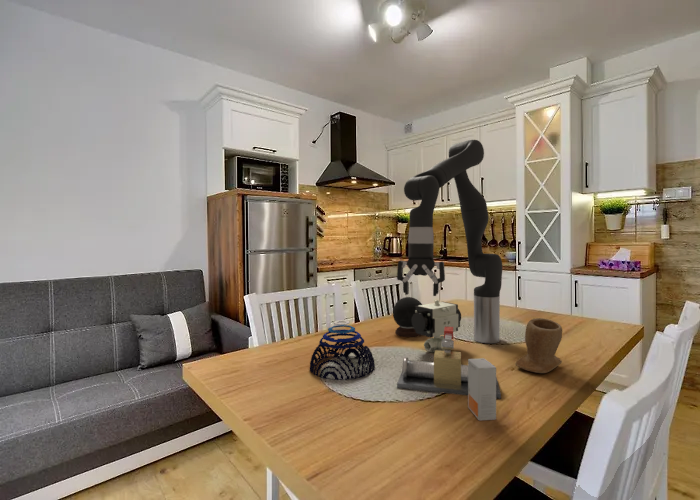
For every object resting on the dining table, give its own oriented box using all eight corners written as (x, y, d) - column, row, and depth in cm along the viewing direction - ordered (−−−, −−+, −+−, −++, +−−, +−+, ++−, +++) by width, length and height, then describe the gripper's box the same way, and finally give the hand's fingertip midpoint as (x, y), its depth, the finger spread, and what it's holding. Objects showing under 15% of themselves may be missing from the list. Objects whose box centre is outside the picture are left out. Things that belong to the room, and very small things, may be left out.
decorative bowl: (381, 360, 120) (381, 316, 120) (364, 384, 102) (363, 333, 101) (325, 354, 127) (324, 313, 126) (299, 375, 108) (298, 327, 107)
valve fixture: (403, 371, 110) (403, 339, 109) (496, 380, 102) (496, 346, 102) (397, 387, 98) (396, 352, 98) (500, 399, 91) (501, 360, 90)
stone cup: (551, 380, 101) (551, 327, 101) (509, 368, 111) (510, 319, 110) (573, 367, 111) (574, 318, 110) (533, 357, 120) (533, 312, 119)
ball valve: (429, 359, 120) (428, 305, 119) (411, 352, 127) (410, 301, 126) (465, 349, 130) (465, 299, 129) (446, 343, 137) (446, 296, 136)
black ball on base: (429, 331, 153) (429, 296, 152) (417, 339, 142) (417, 301, 141) (400, 327, 160) (400, 293, 159) (387, 334, 149) (387, 298, 148)
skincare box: (467, 408, 86) (467, 358, 86) (484, 407, 87) (484, 357, 86) (478, 421, 80) (478, 368, 80) (497, 420, 81) (497, 367, 80)
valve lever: (443, 334, 114) (443, 326, 114) (454, 334, 113) (454, 327, 113) (441, 350, 99) (441, 341, 99) (453, 351, 98) (453, 342, 98)
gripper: (446, 242, 113) (445, 294, 113) (400, 242, 117) (400, 292, 118) (443, 242, 105) (443, 298, 106) (395, 242, 110) (395, 295, 111)
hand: (420, 295), depth 112 cm, fingers open, 8 cm apart
